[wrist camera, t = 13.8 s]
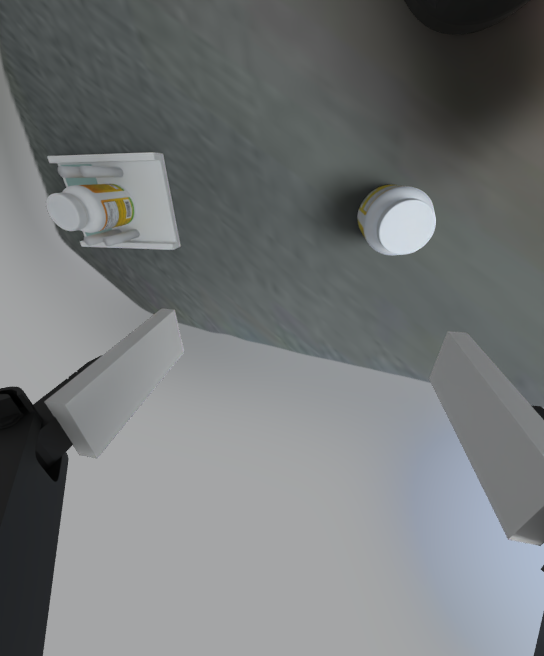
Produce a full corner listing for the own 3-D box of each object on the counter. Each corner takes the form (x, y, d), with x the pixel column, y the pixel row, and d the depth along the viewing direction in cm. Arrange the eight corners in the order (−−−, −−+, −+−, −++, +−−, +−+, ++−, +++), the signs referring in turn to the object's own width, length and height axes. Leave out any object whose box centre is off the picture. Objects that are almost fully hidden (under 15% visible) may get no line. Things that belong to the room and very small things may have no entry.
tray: (92, 243, 43) (54, 254, 37) (61, 157, 36) (9, 153, 31) (180, 246, 40) (155, 258, 34) (163, 153, 34) (127, 148, 28)
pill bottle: (391, 247, 34) (416, 275, 25) (347, 228, 34) (354, 249, 24) (423, 196, 31) (466, 205, 21) (373, 175, 31) (394, 175, 21)
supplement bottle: (95, 198, 37) (31, 204, 29) (116, 174, 35) (54, 174, 27) (122, 231, 39) (69, 246, 31) (144, 211, 37) (93, 221, 29)
